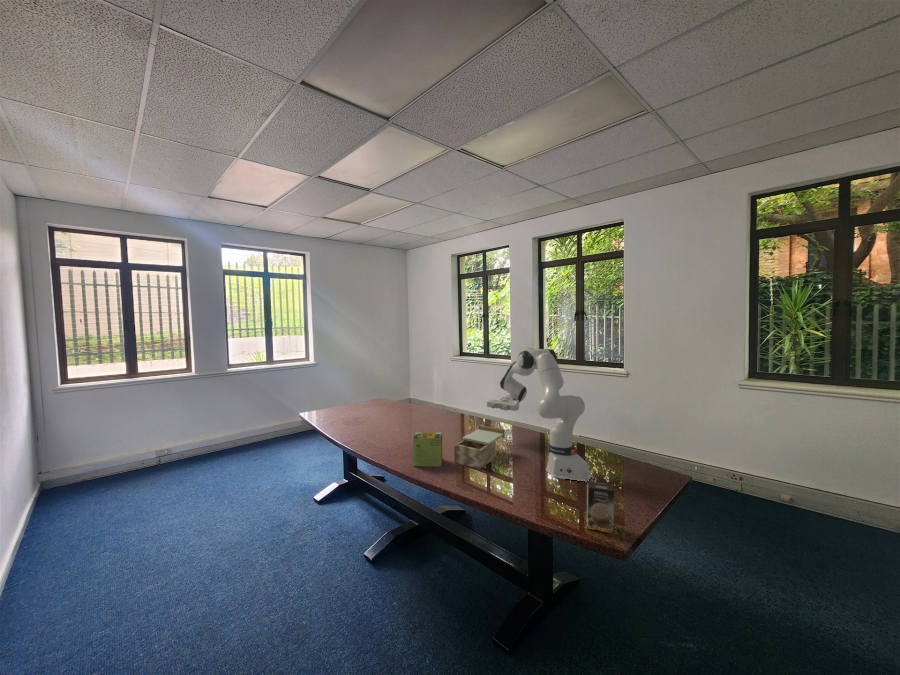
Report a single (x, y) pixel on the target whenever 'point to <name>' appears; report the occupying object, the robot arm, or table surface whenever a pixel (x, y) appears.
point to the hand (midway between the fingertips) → (497, 407)
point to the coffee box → (600, 505)
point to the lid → (485, 435)
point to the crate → (474, 453)
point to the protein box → (427, 449)
